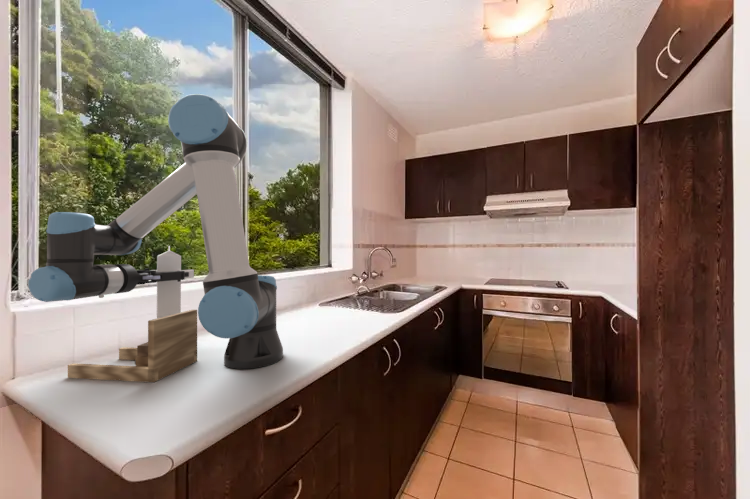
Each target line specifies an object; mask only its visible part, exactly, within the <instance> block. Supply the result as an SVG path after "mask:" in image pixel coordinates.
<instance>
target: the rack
mask: <svg viewBox="0 0 750 499" xmlns="http://www.w3.org/2000/svg"><path fill="white" fill-rule="evenodd" d="M147 342H148V367H142V366H136V365H119V364H118V365H116V364H115V365H114V364H96V363H95V364H94V363H77V362H75V363H70V364H67V379H80V380H82V379H85V380H101V381H102V380H104V381H118V382H119V381H121V382H122V381H123V382H140V383H141V382H142V383H156V382H157V381H159V380H161V379H164V378H166V377H168V376H170V375H172V374H174V373H176V372H178V371H180V370H182V369H184V368H186V367H188V366H190V365H192V364H194V363H196V362H198V309H188V310H185V311H182V312H181V313H177V314H173V315H169V316H165V317H161V318H157V317H156V318H154V319H150V320H148V321H147ZM136 357H137V347H129V346H128V347H126V346H122V347H119V348H118V360H123V361H125V360H127V361H130V360H131V361H136Z"/></svg>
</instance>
